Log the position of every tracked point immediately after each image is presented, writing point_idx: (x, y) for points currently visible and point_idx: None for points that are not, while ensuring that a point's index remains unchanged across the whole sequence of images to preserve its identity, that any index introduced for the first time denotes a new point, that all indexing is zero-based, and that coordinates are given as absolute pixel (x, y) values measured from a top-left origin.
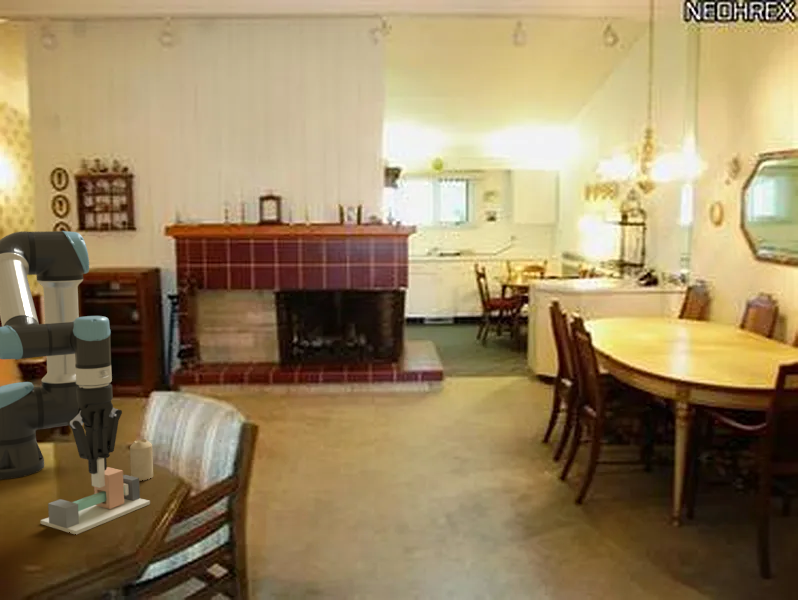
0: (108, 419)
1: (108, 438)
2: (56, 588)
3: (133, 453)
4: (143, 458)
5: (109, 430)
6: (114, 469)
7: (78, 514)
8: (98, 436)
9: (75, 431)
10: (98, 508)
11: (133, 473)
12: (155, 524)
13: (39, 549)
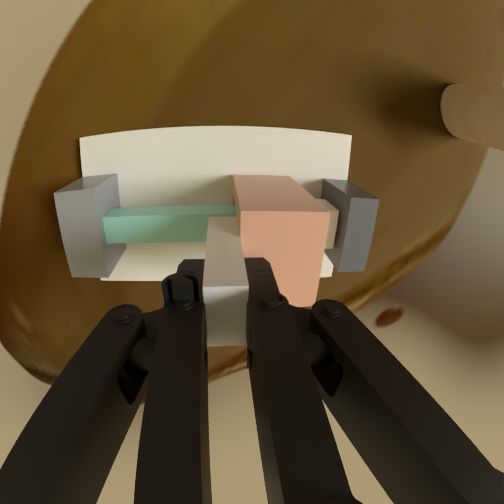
0: (455, 501)
1: (345, 405)
2: (39, 377)
3: (498, 114)
4: (492, 141)
5: (383, 450)
6: (312, 268)
7: (118, 260)
8: (264, 446)
9: (19, 501)
10: (224, 200)
11: (453, 104)
12: (239, 358)
13: (35, 272)
